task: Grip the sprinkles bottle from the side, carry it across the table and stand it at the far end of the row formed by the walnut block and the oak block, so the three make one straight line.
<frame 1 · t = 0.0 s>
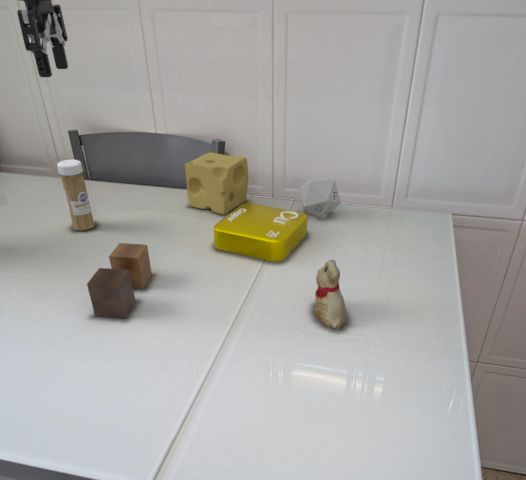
hand: (54, 72, 95), 27 cm above the table, tool pointing down, fingers open, 8 cm apart
sprinkles bottle: (84, 227, 105), on the table
chocolate bunny: (328, 315, 79), on the table
die: (317, 214, 111), on the table
cheese: (218, 204, 115), on the table
element tile: (261, 241, 100), on the table
oak block: (134, 281, 87), on the table
walnut block: (115, 308, 80), on the table
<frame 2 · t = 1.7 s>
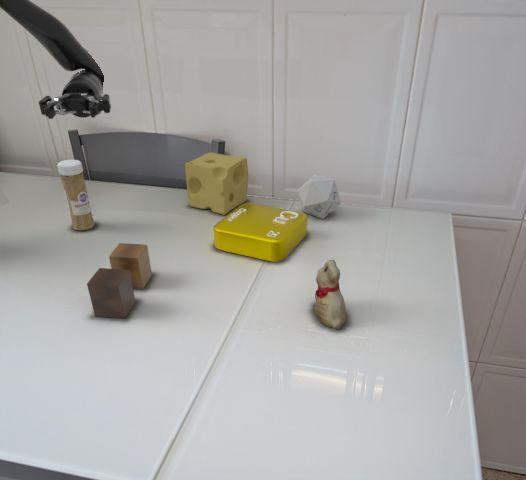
hand: (70, 112, 101), 20 cm above the table, tool horizontal, fingers open, 8 cm apart
nothing on the table moved.
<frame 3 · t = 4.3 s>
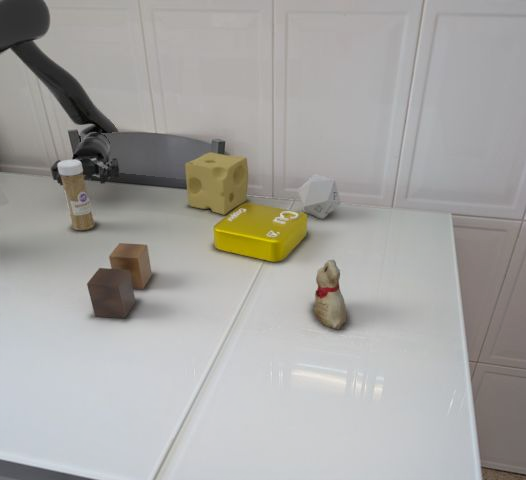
hand: (81, 180, 107), 7 cm above the table, tool horizontal, fingers open, 8 cm apart
nothing on the table moved.
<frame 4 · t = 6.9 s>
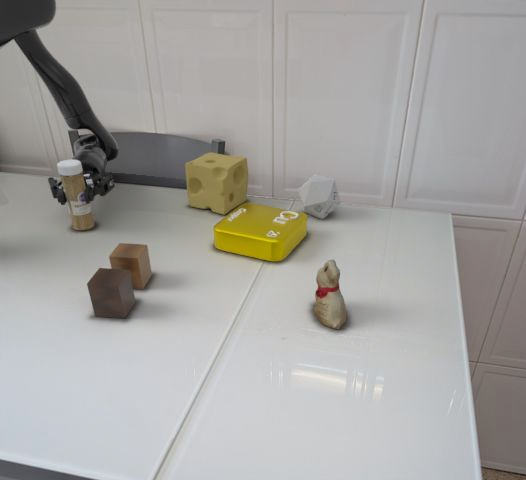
hand: (74, 199, 99), 7 cm above the table, tool horizontal, fingers closed on sprinkles bottle, 4 cm apart
sprinkles bottle: (84, 227, 105), on the table, touching gripper
everything else where it was.
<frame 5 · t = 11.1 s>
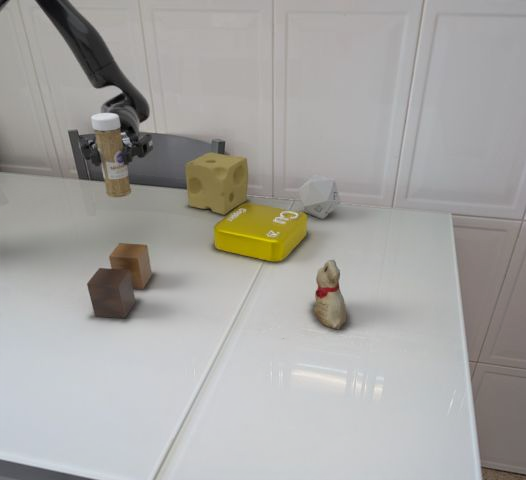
hand: (110, 159, 85), 18 cm above the table, tool horizontal, fingers closed on sprinkles bottle, 4 cm apart
sprinkles bottle: (119, 194, 91), point 10 cm above the table, touching gripper
everything else where it was.
when the fingers open (7 cm above the table, at t = 15.3 s): sprinkles bottle stays where it is, on the table.
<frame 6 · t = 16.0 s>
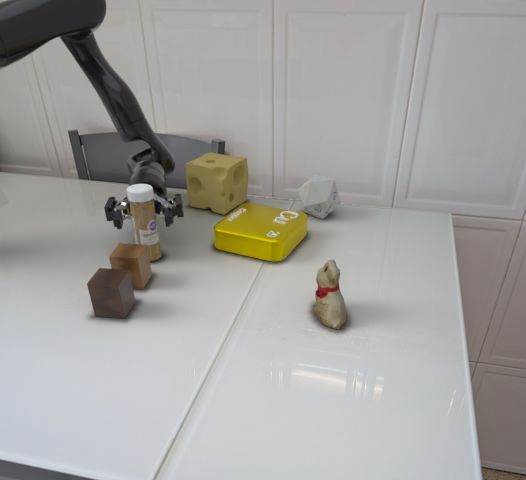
hand: (143, 223, 88), 8 cm above the table, tool horizontal, fingers open, 8 cm apart
sprinkles bottle: (150, 257, 95), on the table
everything else where it was.
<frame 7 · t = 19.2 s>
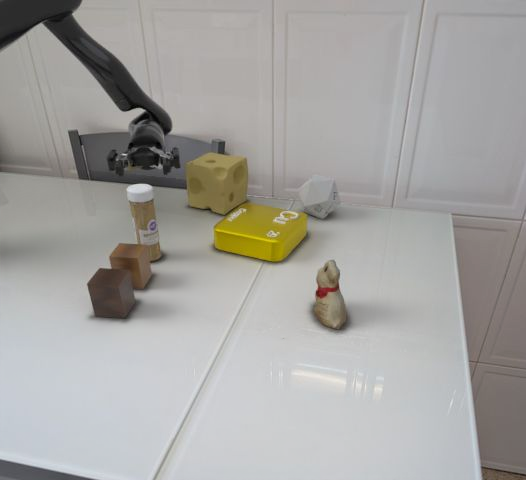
hand: (142, 170, 95), 13 cm above the table, tool horizontal, fingers open, 8 cm apart
nothing on the table moved.
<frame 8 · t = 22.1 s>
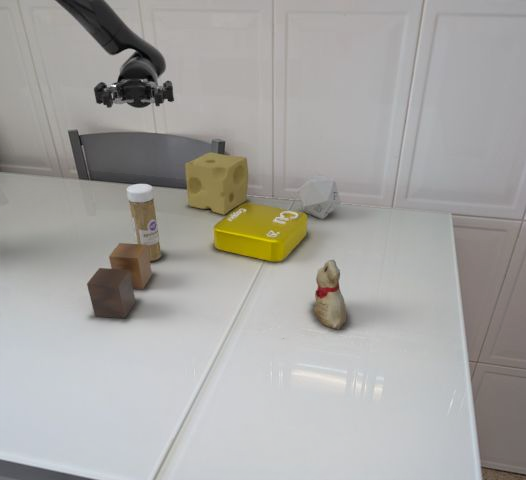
hand: (132, 100, 88), 25 cm above the table, tool horizontal, fingers open, 8 cm apart
nothing on the table moved.
at the end: sprinkles bottle 0.2 cm from the target spot on the table beside the oak block, on the table; sprinkles bottle 0.2 cm from the target spot on the table beside the walnut block, on the table; sprinkles bottle tilted 0° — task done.
